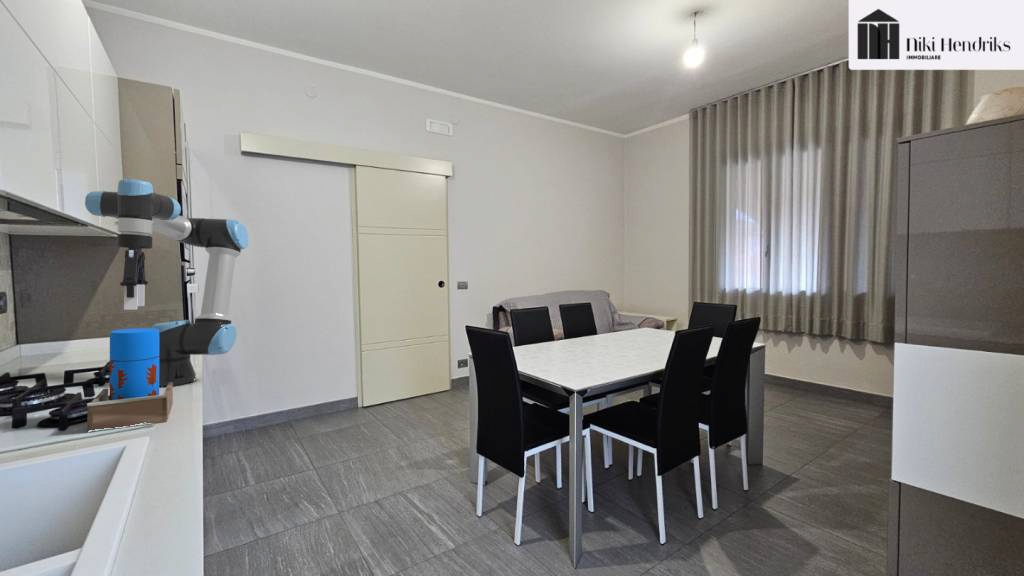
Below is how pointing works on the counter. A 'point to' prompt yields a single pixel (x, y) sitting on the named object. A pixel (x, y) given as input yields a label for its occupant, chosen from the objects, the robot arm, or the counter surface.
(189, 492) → the counter surface
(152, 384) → the thermos
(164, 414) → the wooden frame
